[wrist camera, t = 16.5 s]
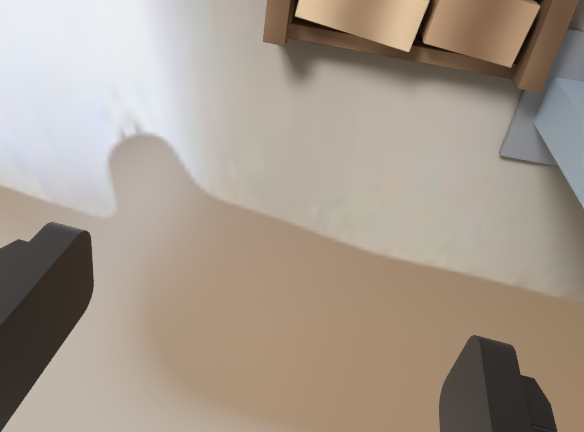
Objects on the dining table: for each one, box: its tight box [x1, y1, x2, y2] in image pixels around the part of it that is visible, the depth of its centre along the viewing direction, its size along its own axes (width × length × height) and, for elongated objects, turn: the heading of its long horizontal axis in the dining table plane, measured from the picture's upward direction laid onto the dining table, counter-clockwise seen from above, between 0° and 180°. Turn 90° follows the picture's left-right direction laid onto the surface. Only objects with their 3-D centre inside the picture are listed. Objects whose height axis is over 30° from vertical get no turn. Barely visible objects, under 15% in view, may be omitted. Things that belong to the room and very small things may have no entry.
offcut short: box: [420, 0, 540, 68], centre depth 35 cm, size 6×4×4 cm, turn 77°
